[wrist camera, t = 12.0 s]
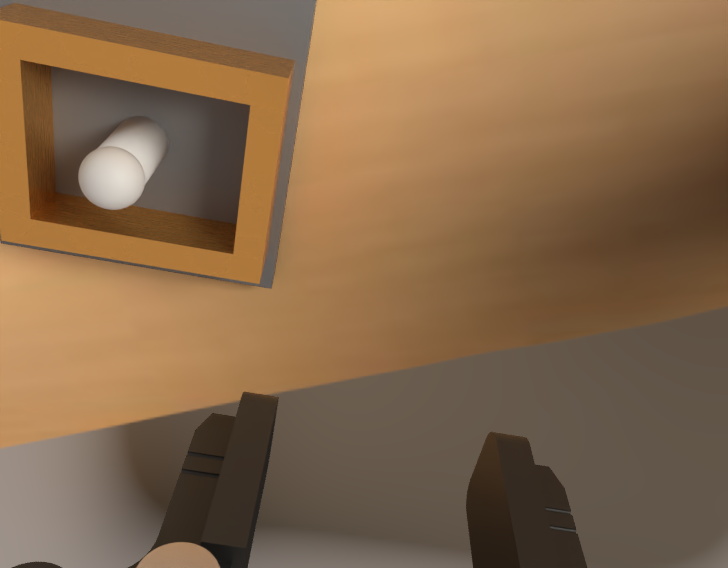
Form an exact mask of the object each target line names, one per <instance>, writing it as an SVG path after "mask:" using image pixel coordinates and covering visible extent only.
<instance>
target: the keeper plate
mask: <svg viewBox="0 0 728 568" xmlns="http://www.w3.org/2000/svg"><path fill="white" fill-rule="evenodd" d="M316 2H317V0H0V8H2V7H4V6H7V5H10V4H12V3H19V4H23V5H28V6H33V7H38V8H43V9H48V10H53V11H58V12H62V13H67V14H72V15H77V16H82V17H87V18H92V19H96V20H101V21H106V22H111V23H116V24H121V25H126V26H130V27H135V28H140V29H145V30H150V31H155V32H160V33H164V34H169V35H174V36H179V37H184V38H189V39H194V40H198V41H203V42H208V43H213V44H218V45H223V46H228V47H232V48H237V49H242V50H247V51H252V52H257V53H262V54H266V55H271V56H276V57H281V58H286V59H291V60H295V64H294V71H293V78H292V85H291V92H290V99H289V106H288V113H287V120H286V126H285V133H284V140H283V147H282V154H281V161H280V168H279V175H278V182H277V188H276V195H275V202H274V209H273V216H272V223H271V230H270V237H269V244H268V250H267V256H266V260H265V264H264V268H263V272H262V276H261V280H260V284H256V283H250V282H244V281H238V280H232V279H226V278H220V277H214V276H208V275H203V274H197V273H191V272H185V271H179V270H173V269H167V268H161V267H155V266H149V265H143V264H137V263H131V262H125V261H120V260H114V259H108V258H102V257H96V256H90V255H84V254H78V253H72V252H66V251H60V250H54V249H48V248H43V247H37V246H31V245H25V244H19V243H13V242H7V241H1V243H3V244H9V245H15V246H21V247H27V248H33V249H38V250H44V251H50V252H56V253H62V254H68V255H74V256H80V257H86V258H92V259H98V260H104V261H110V262H116V263H122V264H128V265H134V266H140V267H146V268H152V269H158V270H163V271H169V272H175V273H181V274H187V275H193V276H199V277H205V278H211V279H217V280H223V281H229V282H235V283H241V284H247V285H253V286H259V287H265V288H272V283H273V279H274V274H275V268H276V261H277V255H278V248H279V242H280V235H281V229H282V222H283V216H284V209H285V203H286V196H287V190H288V183H289V177H290V170H291V164H292V157H293V151H294V144H295V138H296V131H297V125H298V118H299V112H300V105H301V99H302V92H303V86H304V80H305V73H306V67H307V60H308V54H309V47H310V41H311V34H312V28H313V21H314V15H315V8H316ZM51 80H52V103H53V127H54V150H55V173H56V192H59V193H64V194H70V195H75V196H81V197H87V199H88V200H89V201H91V202H92V203H93V204H95V205H97V206H99V207H101V208H104V209H109V210H118V209H123V208H126V207H128V206H130V205H132V206H137V207H143V208H149V209H154V210H160V211H165V212H171V213H177V214H182V215H188V216H194V217H199V218H205V219H210V220H216V221H222V222H227V223H233V224H237V217H238V209H239V200H240V191H241V183H242V174H243V165H244V156H245V148H246V139H247V130H248V122H249V113H250V105H247V104H242V103H237V102H232V101H227V100H222V99H216V98H211V97H206V96H201V95H196V94H191V93H186V92H181V91H176V90H171V89H166V88H161V87H156V86H151V85H145V84H140V83H135V82H130V81H125V80H120V79H115V78H110V77H105V76H100V75H95V74H90V73H85V72H80V71H74V70H69V69H64V68H59V67H54V66H51ZM0 240H1V234H0Z"/></svg>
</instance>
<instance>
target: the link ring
mask: <svg viewBox="0 0 728 568" xmlns="http://www.w3.org/2000/svg"><path fill="white" fill-rule="evenodd" d="M294 64H295V60H291V59H286V58H281V57H276V56H271V55H266V54H262V53H257V52H252V51H247V50H242V49H237V48H232V47H228V46H223V45H218V44H213V43H208V42H203V41H198V40H194V39H189V38H184V37H179V36H174V35H169V34H164V33H160V32H155V31H150V30H145V29H140V28H135V27H130V26H126V25H121V24H116V23H111V22H106V21H101V20H96V19H92V18H87V17H82V16H77V15H72V14H67V13H62V12H58V11H53V10H48V9H43V8H38V7H33V6H28V5H23V4H19V3H12V4H10V5H7V6H4V7H2V8H0V234H1V241H7V242H13V243H19V244H25V245H31V246H37V247H43V248H48V249H54V250H60V251H66V252H72V253H78V254H84V255H90V256H96V257H102V258H108V259H114V260H120V261H125V262H131V263H137V264H143V265H149V266H155V267H161V268H167V269H173V270H179V271H185V272H191V273H197V274H203V275H208V276H214V277H220V278H226V279H232V280H238V281H244V282H250V283H256V284H260V280H261V276H262V272H263V268H264V264H265V260H266V256H267V250H268V244H269V237H270V230H271V223H272V216H273V209H274V202H275V195H276V188H277V182H278V175H279V168H280V161H281V154H282V147H283V140H284V133H285V126H286V120H287V113H288V106H289V99H290V92H291V85H292V78H293V71H294ZM51 66H54V67H59V68H64V69H69V70H74V71H80V72H85V73H90V74H95V75H100V76H105V77H110V78H115V79H120V80H125V81H130V82H135V83H140V84H145V85H151V86H156V87H161V88H166V89H171V90H176V91H181V92H186V93H191V94H196V95H201V96H206V97H211V98H216V99H222V100H227V101H232V102H237V103H242V104H247V105H250V113H249V122H248V130H247V139H246V148H245V156H244V165H243V174H242V183H241V191H240V200H239V209H238V217H237V224H233V223H227V222H222V221H216V220H210V219H205V218H199V217H194V216H188V215H182V214H177V213H171V212H165V211H160V210H154V209H149V208H143V207H137V206H132V205H130V206H128V207H126V208H123V209H118V210H109V209H104V208H101V207H99V206H97V205H95V204H93V203H92V202H91V201H89V200H88V199H87V197H81V196H75V195H70V194H64V193H59V192H56V173H55V150H54V127H53V103H52V80H51Z"/></svg>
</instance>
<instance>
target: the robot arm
mask: <svg viewBox="0 0 728 568" xmlns="http://www.w3.org/2000/svg"><path fill="white" fill-rule="evenodd" d="M278 399H279V398H278V397H274V396H268V395H261V394H255V393H249V392H243V394H242V397H241V401H240V404H239V408H238V411H237V415H236V417H233V416H227V415H221V414H214V413H212V414H211V415H210V416H209V417H208V418H207V419H206V420H205V421H204V422H203V423H202V424H201V425H200V426H199V427H198V428H197V429H196V430H195V433H194V436H193V439H192V442H191V444H190V447H189V450H188V454H187V456H186V459H185V461H184V464H183V467H182V472H181V473H180V476H179V479H178V481H177V484H176V487H175V490H174V493H173V496H172V499H171V501H170V505H169V507H168V510H167V513H166V516H165V519H164V522H163V524H162V527H161V530H160V533H159V536H158V538H157V540H156V543H155V544H154V546H153V547H152V549H151V550H150V551H149V552H148V553H147V555H146V556H145V557H144V558H142V559H141V560H140V561H138V562H137V563H136V564H134V565H132V566H130V567H128V568H248V563H249V558H250V552H251V548H252V543H253V538H254V532H255V528H256V523H257V519H258V514H259V509H260V504H261V499H262V494H263V489H264V484H265V480H266V474H267V469H268V464H269V458H270V452H271V445H272V439H273V432H274V426H275V419H276V412H277V406H278ZM466 511H467V521H468V529H469V537H470V545H471V554H472V562H473V568H587V565H586V562H585V558H584V555H583V552H582V548H581V545H580V541H579V538H578V534H576V527H575V523H574V520H573V516H572V515H571V514H570V512H571V509H570V506H569V502H568V499H567V495H566V492H565V488H564V487H563V486H562V484H561V483H560V482H559V480H558V479H557V477H556V476H555V474H554V473H553V472H552V470H551V469H550V468H549V467H546V466H540V465H535V464H534V460H533V456H532V452H531V447H530V444H529V441H528V439H527V438H525V437H520V436H514V435H507V434H501V433H495V432H490V433H489V434H488V436H487V438H486V440H485V443H484V445H483V448H482V451H481V453H480V456H479V459H478V461H477V464H476V466H475V469H474V472H473V474H472V477H471V479H470V482H469V486H468V491H467V500H466ZM13 568H61V567H60V566H57V565H55V564H52V563H47V562H30V563H25V564H21V565H18V566H15V567H13Z"/></svg>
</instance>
